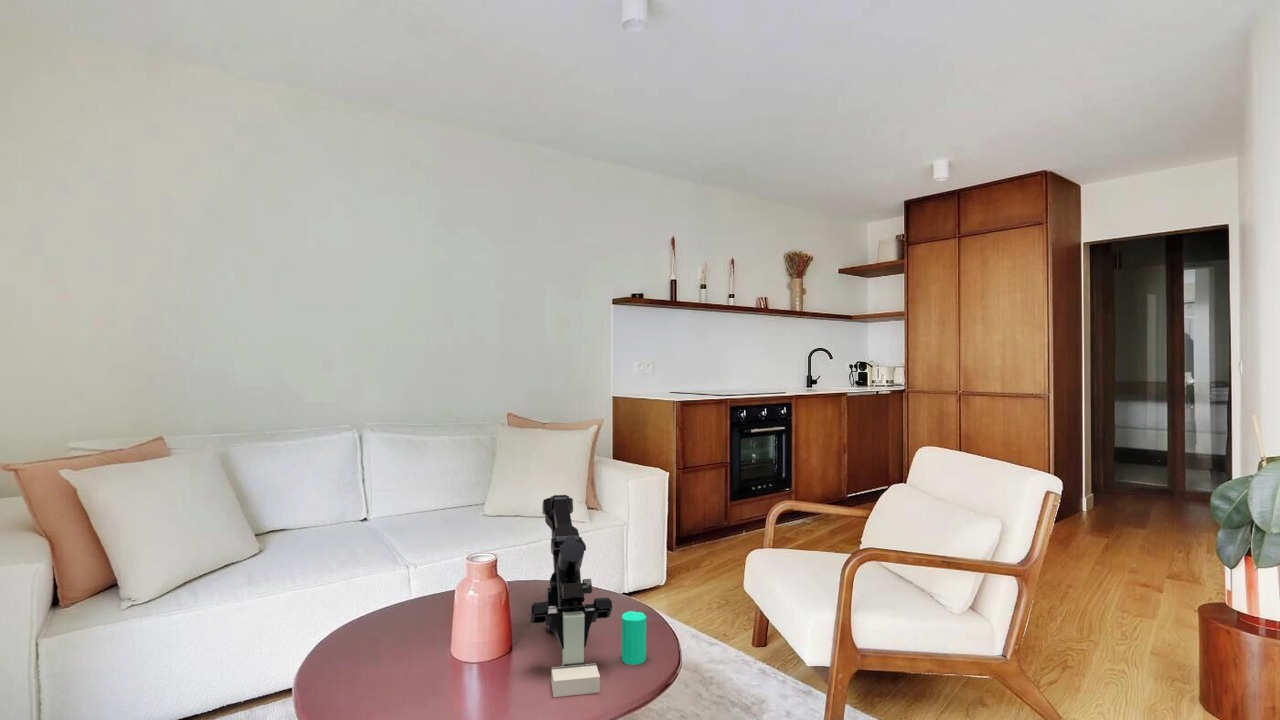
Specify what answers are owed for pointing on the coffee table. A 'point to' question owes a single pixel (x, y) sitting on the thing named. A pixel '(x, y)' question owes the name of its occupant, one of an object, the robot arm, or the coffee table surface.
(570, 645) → the pale green upright box
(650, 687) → the coffee table surface
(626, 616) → the candle
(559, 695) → the block
